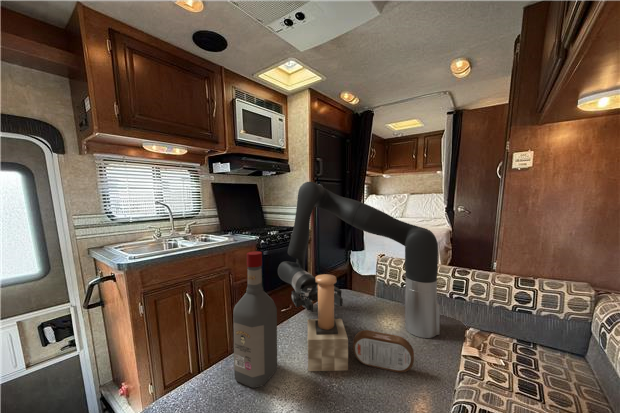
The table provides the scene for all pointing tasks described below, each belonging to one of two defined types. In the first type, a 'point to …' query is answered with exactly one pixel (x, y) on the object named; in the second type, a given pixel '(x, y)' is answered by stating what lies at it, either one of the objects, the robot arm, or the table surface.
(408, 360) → the tin
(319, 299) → the flanged tan peg
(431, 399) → the table surface
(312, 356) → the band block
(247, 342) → the liquor
